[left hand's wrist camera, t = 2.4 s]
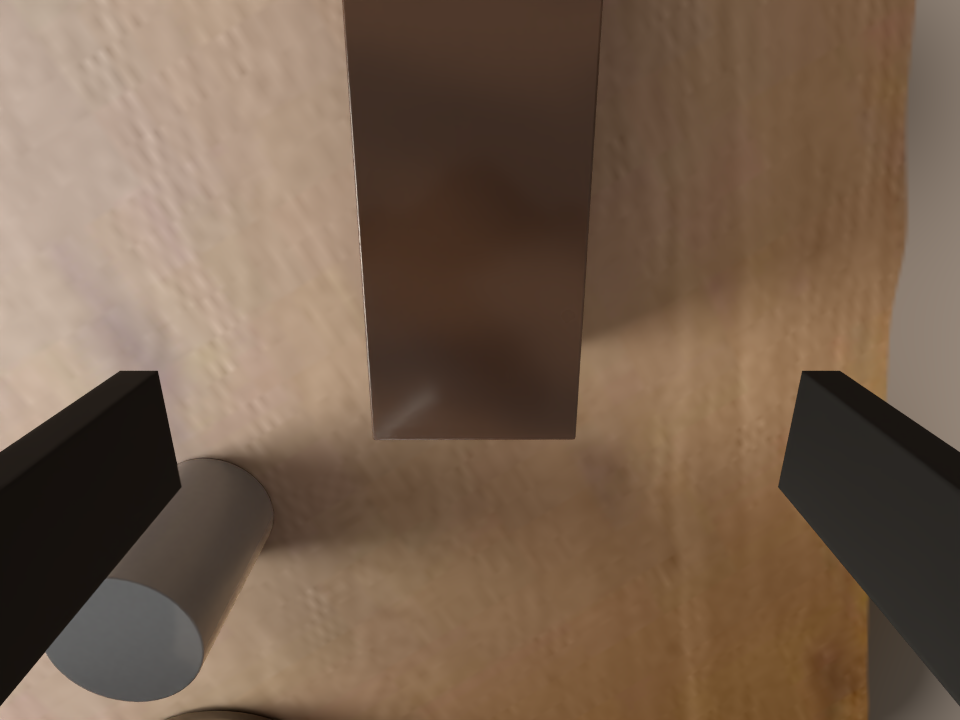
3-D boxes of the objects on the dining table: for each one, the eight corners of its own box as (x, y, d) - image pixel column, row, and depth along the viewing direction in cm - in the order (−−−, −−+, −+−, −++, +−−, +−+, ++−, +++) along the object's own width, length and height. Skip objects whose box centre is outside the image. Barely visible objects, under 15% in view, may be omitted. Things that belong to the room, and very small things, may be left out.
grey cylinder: (280, 558, 34) (215, 702, 25) (164, 559, 33) (60, 703, 25) (266, 457, 31) (188, 577, 23) (141, 458, 31) (18, 578, 23)
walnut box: (547, 351, 29) (575, 440, 21) (402, 351, 29) (372, 440, 21) (581, -470, 19) (662, -932, 11) (362, -472, 19) (275, -937, 11)
